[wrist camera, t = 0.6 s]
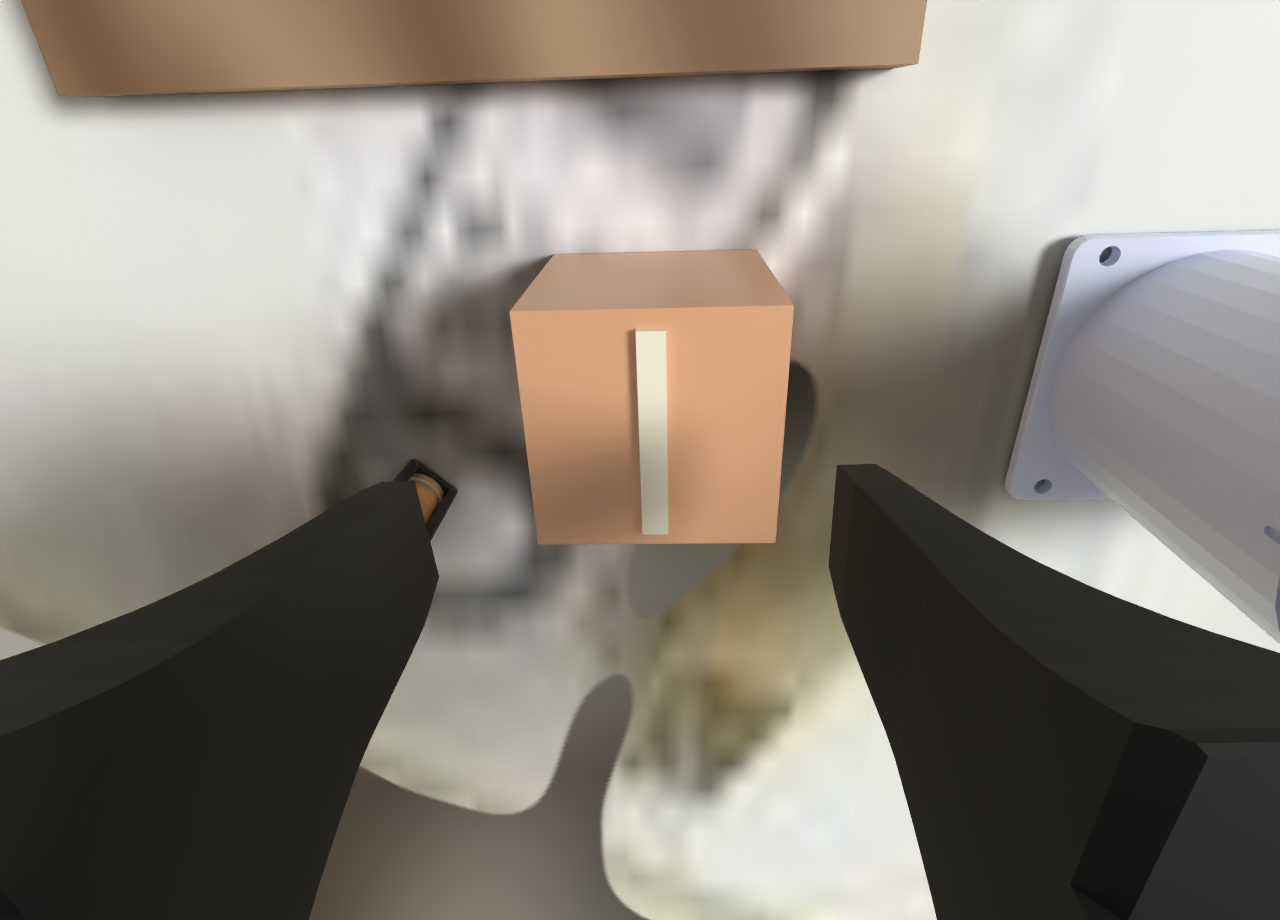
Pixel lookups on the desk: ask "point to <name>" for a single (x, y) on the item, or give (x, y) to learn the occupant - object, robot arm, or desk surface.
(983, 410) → the desk surface
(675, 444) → the orange cube
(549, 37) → the mount
